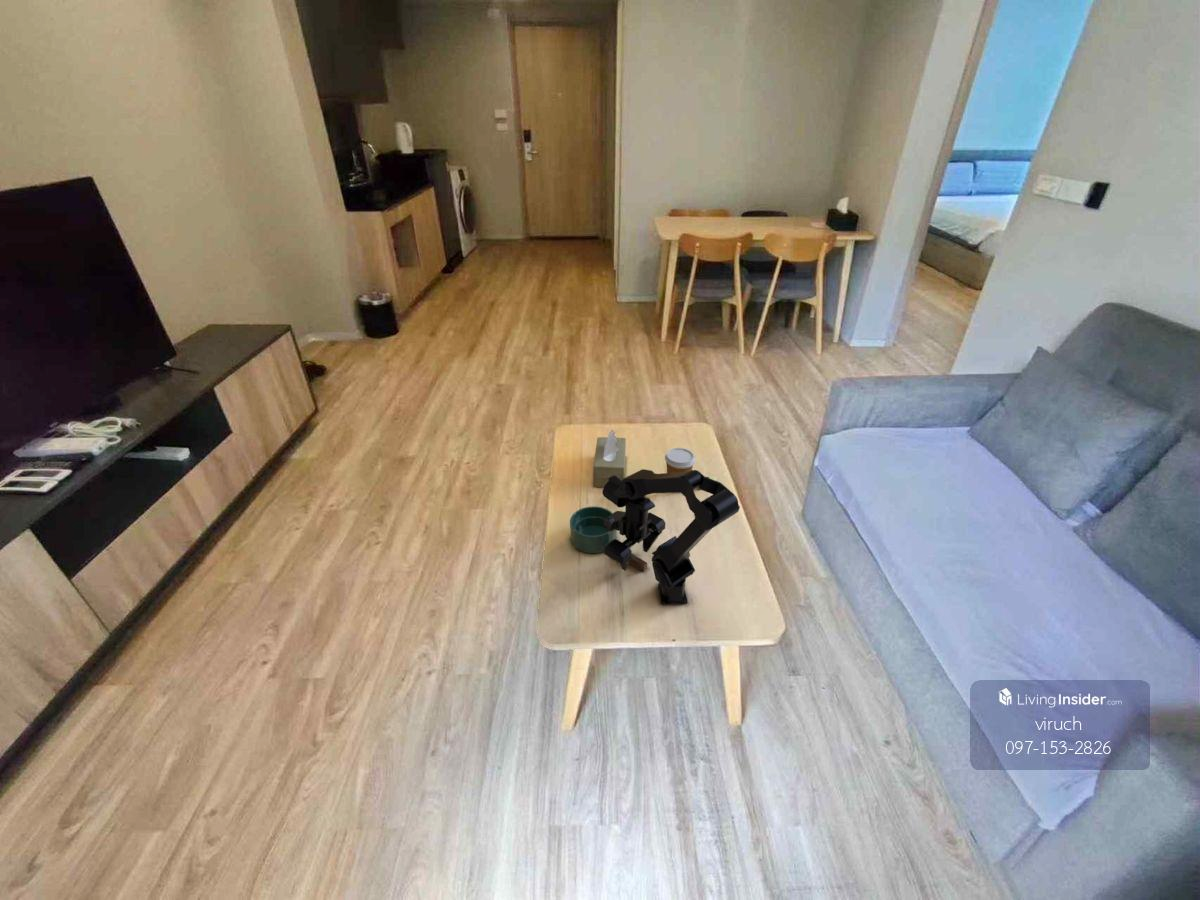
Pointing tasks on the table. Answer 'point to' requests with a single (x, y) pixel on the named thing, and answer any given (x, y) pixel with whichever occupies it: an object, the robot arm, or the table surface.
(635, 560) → the spoon
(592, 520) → the bucket
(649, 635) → the table surface
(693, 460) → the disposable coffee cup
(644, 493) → the robot arm
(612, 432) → the tissue box
